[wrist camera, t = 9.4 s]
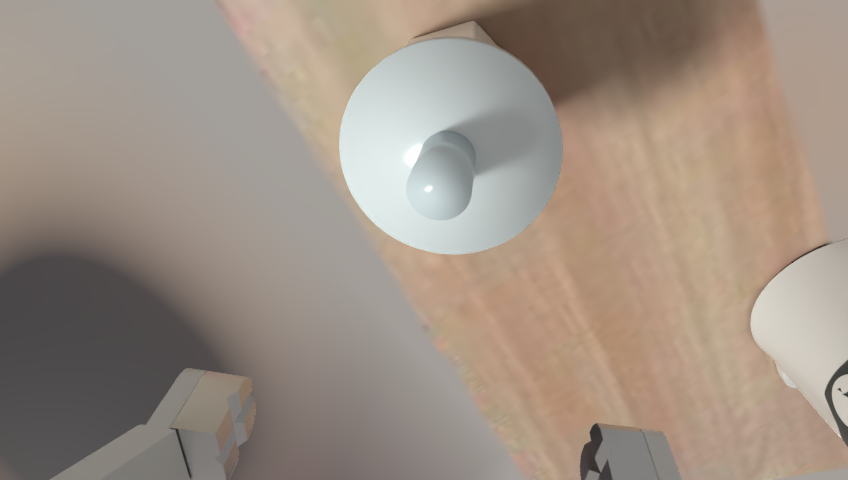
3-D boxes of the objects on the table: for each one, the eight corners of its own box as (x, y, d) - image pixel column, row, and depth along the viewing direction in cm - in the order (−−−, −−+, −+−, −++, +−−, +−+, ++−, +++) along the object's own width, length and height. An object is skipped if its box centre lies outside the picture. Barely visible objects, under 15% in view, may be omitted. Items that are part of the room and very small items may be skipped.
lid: (584, 49, 22) (604, 72, 18) (535, 256, 28) (542, 312, 23) (346, 23, 23) (308, 38, 19) (345, 228, 29) (316, 278, 24)
